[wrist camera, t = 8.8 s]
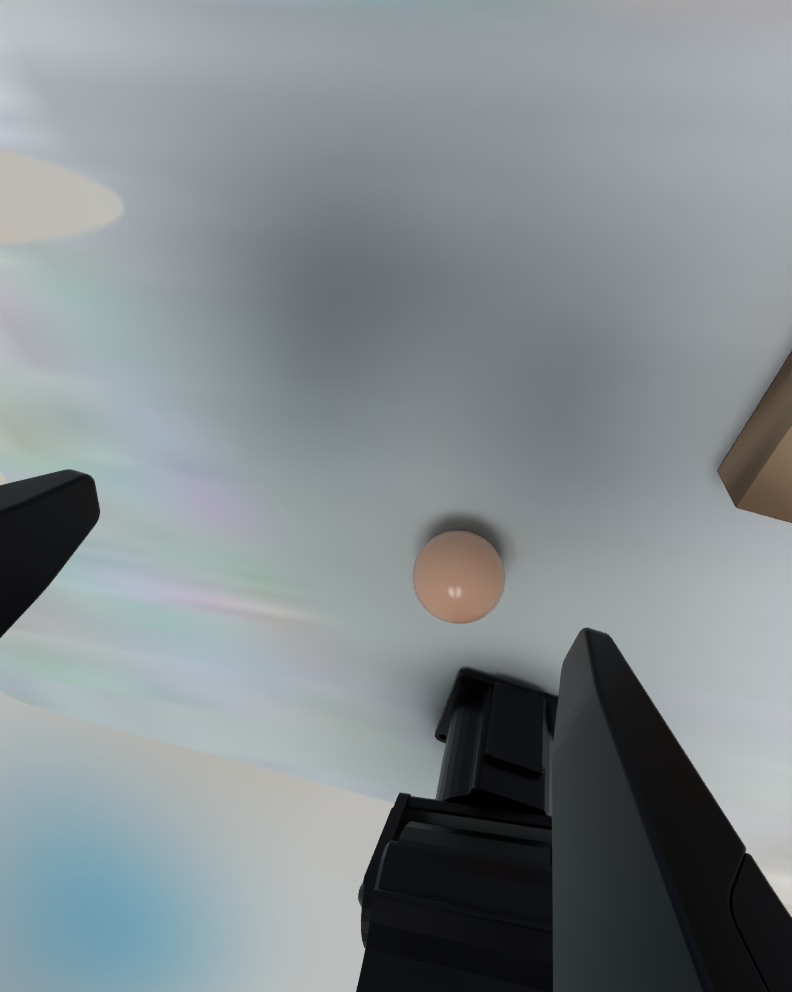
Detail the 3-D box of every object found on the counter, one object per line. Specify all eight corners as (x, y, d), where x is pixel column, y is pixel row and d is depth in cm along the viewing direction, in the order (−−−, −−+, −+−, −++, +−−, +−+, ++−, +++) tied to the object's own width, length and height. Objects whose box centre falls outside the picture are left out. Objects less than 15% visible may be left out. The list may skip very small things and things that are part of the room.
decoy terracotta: (494, 591, 26) (485, 655, 22) (415, 567, 26) (395, 626, 23) (519, 528, 23) (514, 588, 20) (432, 502, 24) (413, 558, 21)
